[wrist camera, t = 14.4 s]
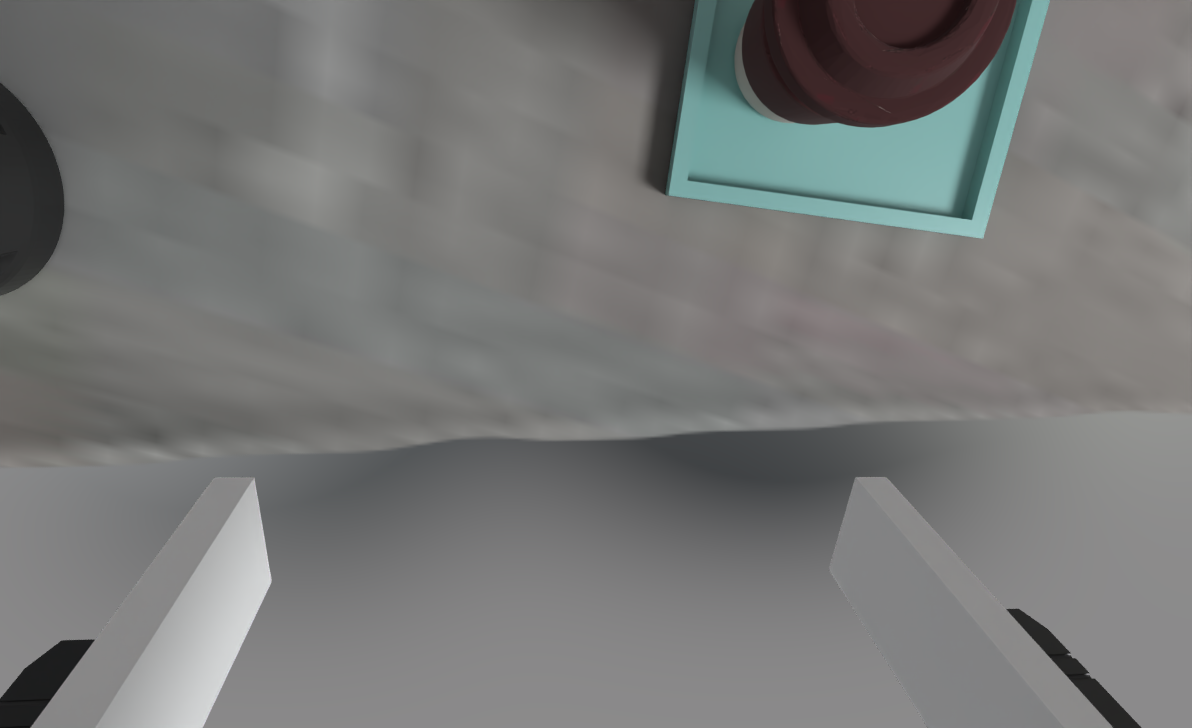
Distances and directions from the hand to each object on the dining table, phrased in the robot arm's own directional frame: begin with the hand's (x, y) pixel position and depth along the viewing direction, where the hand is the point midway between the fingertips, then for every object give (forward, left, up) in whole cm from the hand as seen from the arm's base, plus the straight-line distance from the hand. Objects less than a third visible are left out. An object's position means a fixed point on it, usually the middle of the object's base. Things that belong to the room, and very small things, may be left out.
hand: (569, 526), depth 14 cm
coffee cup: (+11, +16, -29) cm, 35 cm away
